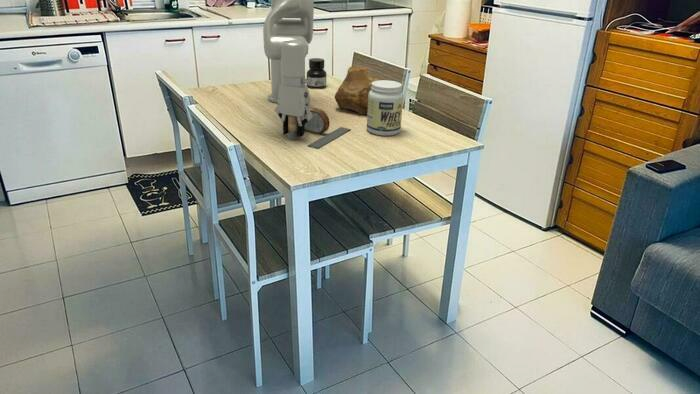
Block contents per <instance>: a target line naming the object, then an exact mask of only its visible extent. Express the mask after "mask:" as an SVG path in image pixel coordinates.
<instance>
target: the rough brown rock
mask: <svg viewBox="0 0 700 394" xmlns="http://www.w3.org/2000/svg"><path fill="white" fill-rule="evenodd" d="M379 80H381V78H380V77H375V78H373V76H371V75H370V74H369V71H368V69H367V68H366V67H363V66H359V67H356V66H350V67H348V69H347V72H346V76H345V78H344V79H343V81H342V83H341V84H340V85H339V87H338V89H337V91H336V92H335V94H334V99H335V102H336V103H337V106H338V108H340V109H344V110H346V109H349V110H352V111H354V112H356V113H358V114H360V115H363V116H367V113H368V95H369V92H370V91H371V90H372V89H371V86H372V82H374V81H379Z"/></svg>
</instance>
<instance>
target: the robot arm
mask: <svg viewBox="0 0 700 394" xmlns="http://www.w3.org/2000/svg"><path fill="white" fill-rule="evenodd" d="M314 5H315V4H314V0H270V8H271V10H270V11H269V12H268V14H267V16H266V18H265V20H264V24H263V30H262V36H263V50H264V54H265V56H266V58H267V59H269V60H270V76H271V79H270V80H271V82H270V84H271V86H270V87H271V94H269V95H268V97H267V100H268V101H269V102H271V103H275V104H277V105H276V107H275V108H274V112H275V113H276V114H277V116H278V117H279V119H280V121H281V123H282V131H283V132H282V133H283V135H288V115H290V116H294V117H297V119H298V124H299V126H297V137H299V139H300V138H302V137H304V136H305V134H306V133H305V131H306V130H305V124H306V123H307V122H308V121H309V120H311V119H312V118H313V115H312V113H311V112H310V107H311V101H310V100H311V99H310V92H309V87H307V83H308V80H307V78H306V57H307V55H308V54H309V44H311V42H312V41H313V35H314V14H315V13H314V11H315V10H314ZM304 114H305V115H307V117H306V118H305V115H304Z"/></svg>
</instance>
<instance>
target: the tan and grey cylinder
mask: <svg viewBox="0 0 700 394" xmlns="http://www.w3.org/2000/svg"><path fill="white" fill-rule="evenodd" d="M297 126H299V124H298V119H297V117H294V116H290V115H288V133H287V136H288V140H290V141H296V140H299V139H300V138H299V137H297Z"/></svg>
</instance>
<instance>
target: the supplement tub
mask: <svg viewBox="0 0 700 394" xmlns="http://www.w3.org/2000/svg"><path fill="white" fill-rule="evenodd" d="M402 87H403V86H402V83H401V82H398V81H395V80H387V79H386V80H385V79H384V80H383V79H382V80H379V81H374V82H372V86H371V89H372V90H371V91H370V92H369V95H368V113H367V114H366V116H367V117H366V130H367V131H368V132H369V133H371V134H373V135H376V136H384V137H386V136H387V137H388V136H394V135H397V134H399V132H401V130H402V114H403V107H404V106H403V104H404V94H403V92H402V90H403V88H402Z"/></svg>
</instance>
